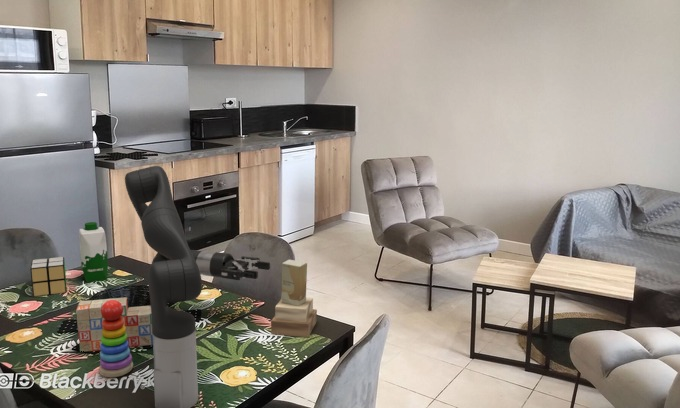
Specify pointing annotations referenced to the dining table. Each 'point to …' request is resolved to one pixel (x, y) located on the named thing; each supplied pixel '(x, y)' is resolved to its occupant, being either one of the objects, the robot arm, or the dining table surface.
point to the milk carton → (93, 252)
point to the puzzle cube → (48, 276)
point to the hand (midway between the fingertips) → (263, 270)
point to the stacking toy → (114, 342)
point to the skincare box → (294, 282)
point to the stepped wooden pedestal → (294, 319)
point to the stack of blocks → (134, 321)
